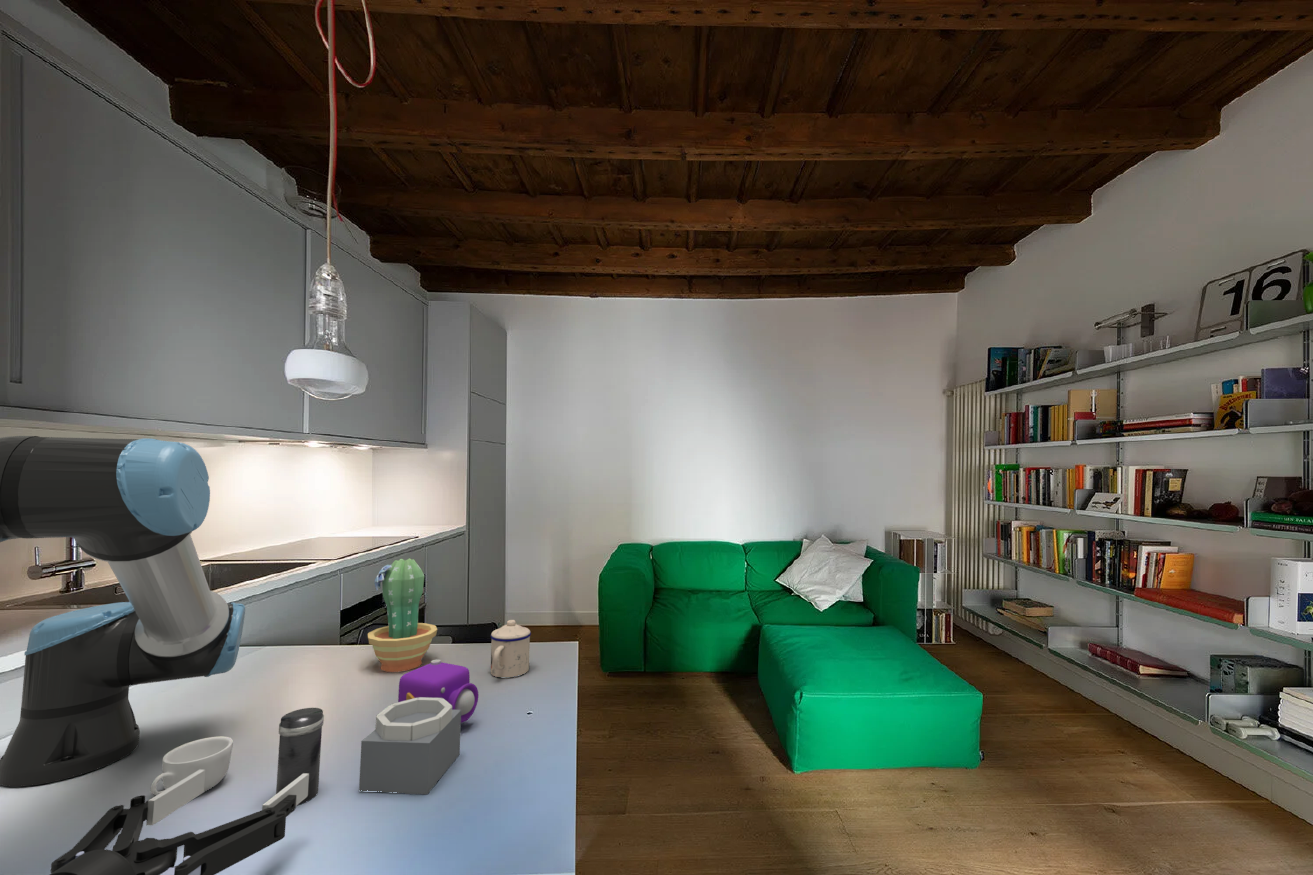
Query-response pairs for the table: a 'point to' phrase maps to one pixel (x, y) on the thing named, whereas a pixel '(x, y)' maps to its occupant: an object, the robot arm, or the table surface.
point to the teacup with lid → (510, 650)
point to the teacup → (196, 762)
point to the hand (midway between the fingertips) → (253, 782)
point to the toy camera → (441, 686)
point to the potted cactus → (401, 618)
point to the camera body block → (410, 746)
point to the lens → (300, 748)
